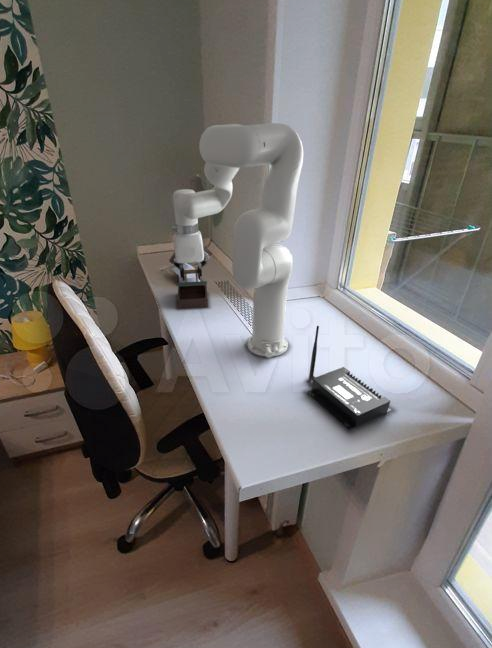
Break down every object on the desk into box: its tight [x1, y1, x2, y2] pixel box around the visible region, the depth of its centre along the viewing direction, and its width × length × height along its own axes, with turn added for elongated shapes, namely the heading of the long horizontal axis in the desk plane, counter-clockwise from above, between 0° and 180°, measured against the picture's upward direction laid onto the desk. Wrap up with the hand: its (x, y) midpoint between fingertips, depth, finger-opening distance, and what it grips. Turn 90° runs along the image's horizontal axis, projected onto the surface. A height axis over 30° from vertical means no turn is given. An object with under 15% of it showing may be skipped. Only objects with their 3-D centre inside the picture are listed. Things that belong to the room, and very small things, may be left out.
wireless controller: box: [306, 325, 392, 431], centre depth 94 cm, size 20×14×17 cm
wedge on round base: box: [172, 263, 201, 286], centre depth 163 cm, size 9×7×13 cm
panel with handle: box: [175, 268, 208, 287], centre depth 143 cm, size 13×11×6 cm
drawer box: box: [177, 285, 209, 310], centre depth 146 cm, size 13×11×4 cm
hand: (191, 278), depth 140 cm, fingers closed on panel with handle, 5 cm apart
